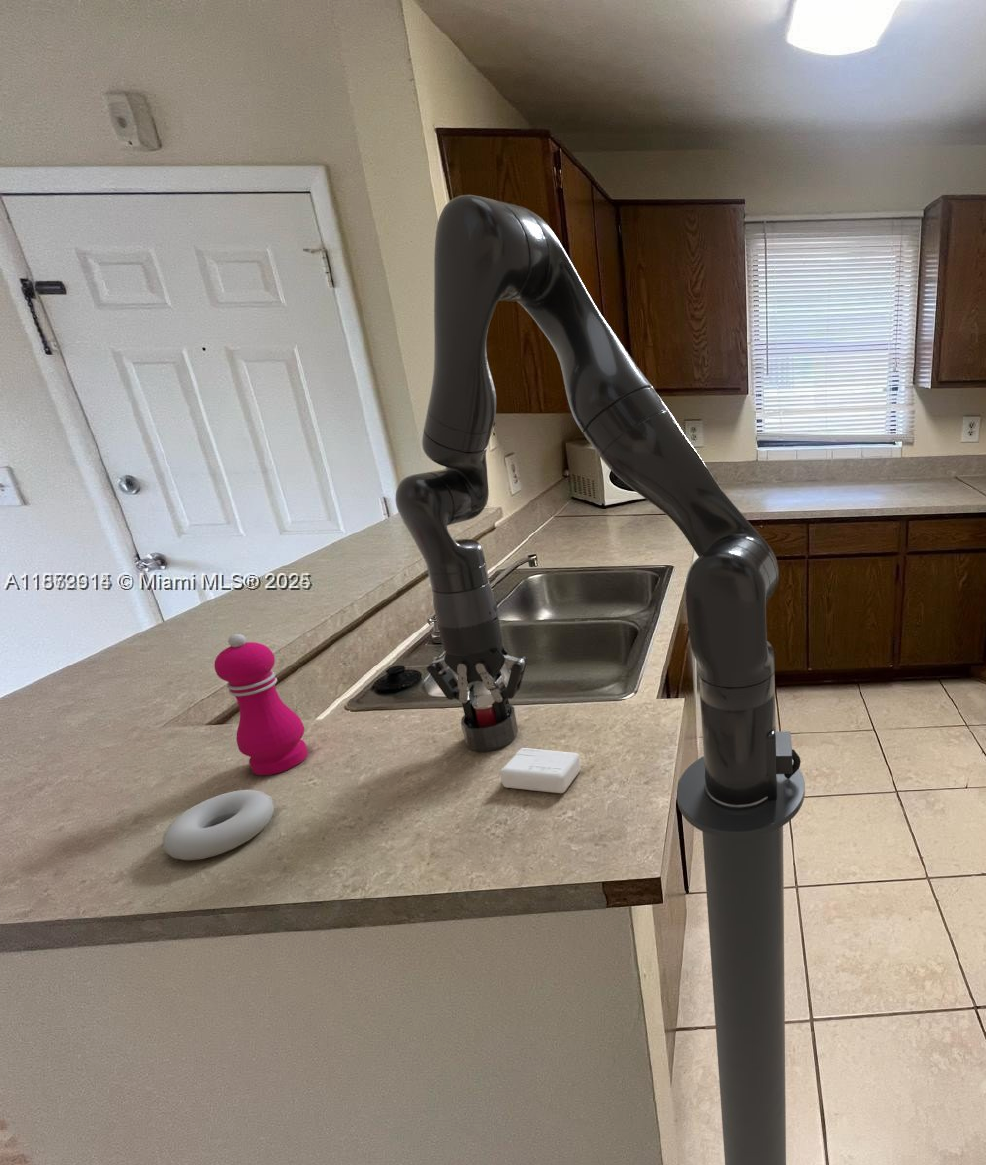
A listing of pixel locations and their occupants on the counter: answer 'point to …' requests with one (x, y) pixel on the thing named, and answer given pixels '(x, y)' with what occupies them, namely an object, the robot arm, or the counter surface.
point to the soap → (541, 770)
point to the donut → (218, 825)
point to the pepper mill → (260, 708)
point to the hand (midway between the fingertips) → (489, 720)
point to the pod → (485, 710)
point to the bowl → (490, 733)
